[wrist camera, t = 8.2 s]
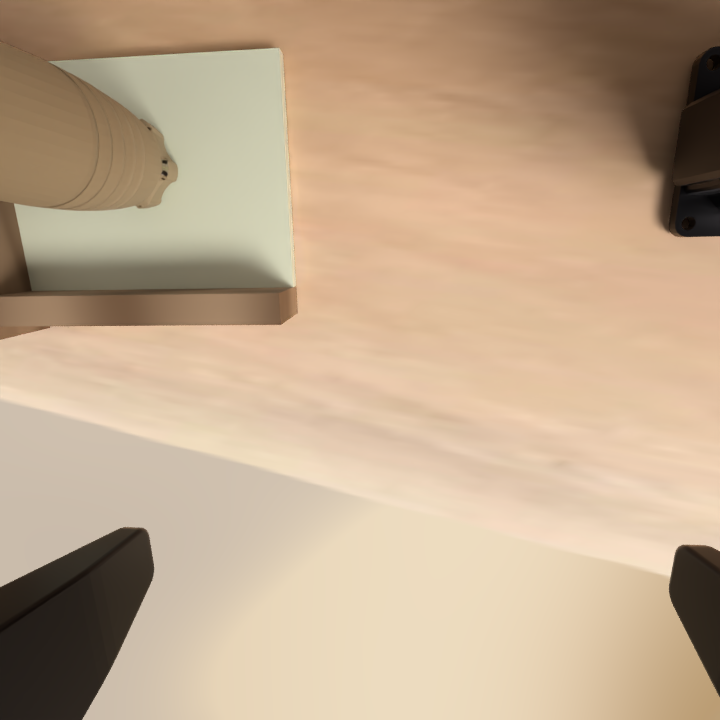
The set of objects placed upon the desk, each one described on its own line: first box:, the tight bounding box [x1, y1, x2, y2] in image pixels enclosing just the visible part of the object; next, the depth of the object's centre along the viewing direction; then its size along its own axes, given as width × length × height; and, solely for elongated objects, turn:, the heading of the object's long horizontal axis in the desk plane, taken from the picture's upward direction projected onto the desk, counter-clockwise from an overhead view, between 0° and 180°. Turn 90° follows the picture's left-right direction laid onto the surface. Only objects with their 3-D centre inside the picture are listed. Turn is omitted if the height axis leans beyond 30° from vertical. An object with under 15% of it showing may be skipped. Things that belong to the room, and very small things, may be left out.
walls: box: [0, 201, 298, 340], centre depth 18 cm, size 13×11×3 cm
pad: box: [14, 48, 296, 291], centre depth 19 cm, size 12×9×1 cm
